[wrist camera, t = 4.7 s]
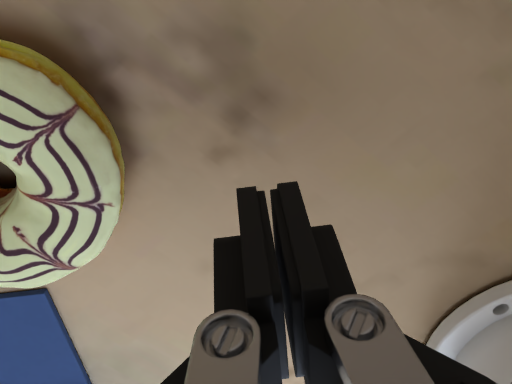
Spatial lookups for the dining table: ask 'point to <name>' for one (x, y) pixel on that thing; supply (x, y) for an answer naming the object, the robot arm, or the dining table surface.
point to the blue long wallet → (36, 342)
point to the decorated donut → (53, 171)
